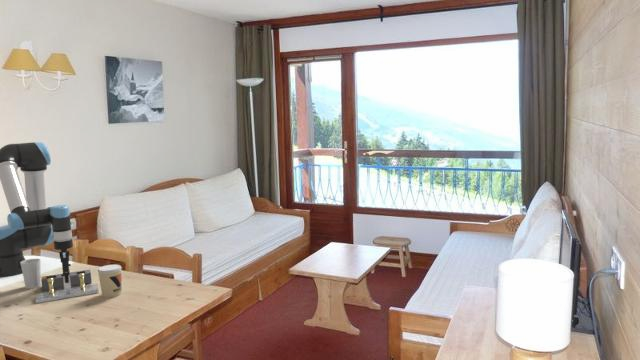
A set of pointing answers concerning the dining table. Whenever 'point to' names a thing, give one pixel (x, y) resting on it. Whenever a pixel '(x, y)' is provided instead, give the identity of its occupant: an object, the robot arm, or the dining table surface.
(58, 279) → the grey rectangular block
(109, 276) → the coffee cup
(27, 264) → the cup
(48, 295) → the grey plate brass knobs
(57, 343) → the dining table surface
